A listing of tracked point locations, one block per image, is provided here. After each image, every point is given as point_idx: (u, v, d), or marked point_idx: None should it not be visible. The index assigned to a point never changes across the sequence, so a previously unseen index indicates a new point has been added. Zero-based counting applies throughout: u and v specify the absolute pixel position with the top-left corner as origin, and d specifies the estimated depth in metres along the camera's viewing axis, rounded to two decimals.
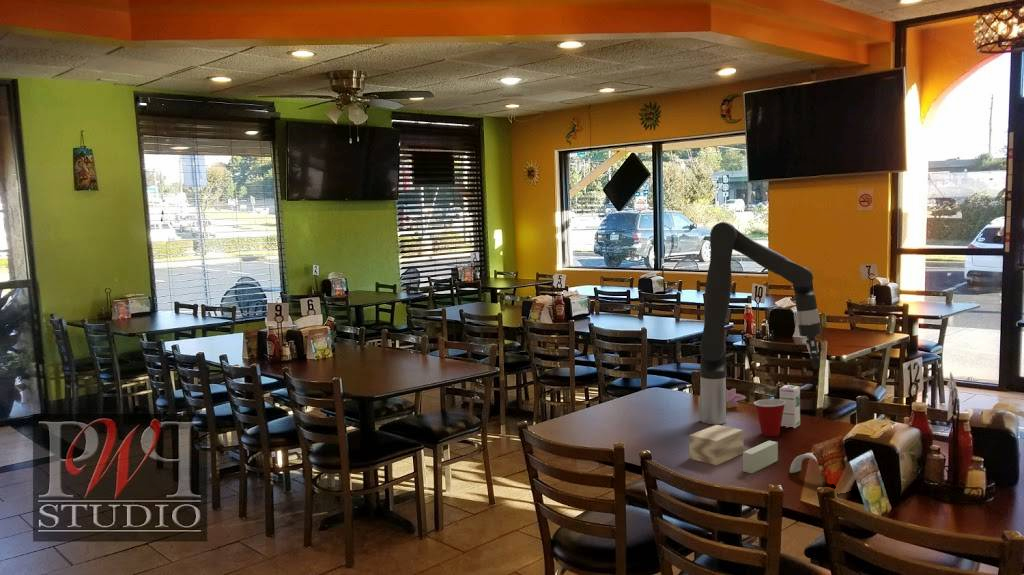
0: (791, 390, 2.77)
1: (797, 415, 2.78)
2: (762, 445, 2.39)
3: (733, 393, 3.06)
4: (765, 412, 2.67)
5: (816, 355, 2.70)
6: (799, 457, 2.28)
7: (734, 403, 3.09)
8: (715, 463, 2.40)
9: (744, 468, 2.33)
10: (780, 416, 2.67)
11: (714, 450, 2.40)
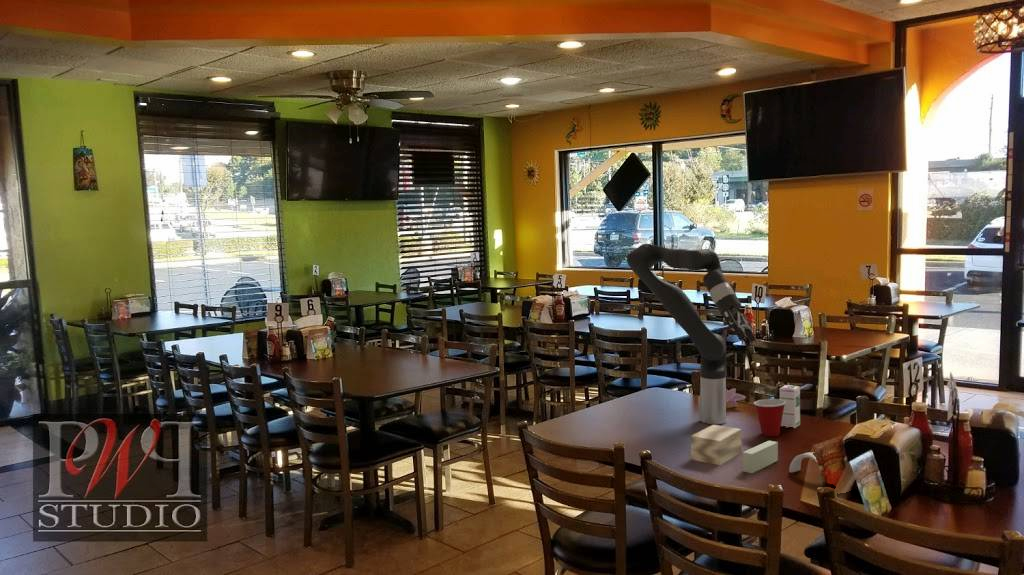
0: (791, 390, 2.77)
1: (797, 415, 2.78)
2: (762, 445, 2.39)
3: (733, 393, 3.06)
4: (765, 412, 2.67)
5: (733, 324, 2.48)
6: (798, 457, 2.29)
7: (734, 403, 3.09)
8: (718, 463, 2.40)
9: (744, 468, 2.33)
10: (780, 416, 2.67)
11: (717, 451, 2.40)
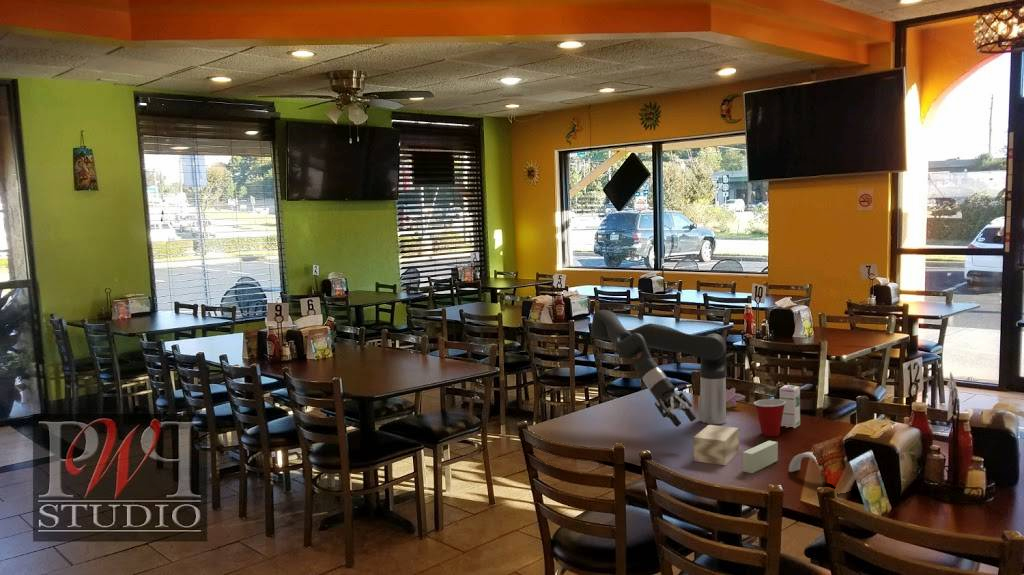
0: (791, 390, 2.77)
1: (797, 415, 2.78)
2: (762, 445, 2.39)
3: (732, 393, 3.06)
4: (765, 412, 2.67)
5: (665, 413, 2.53)
6: (798, 456, 2.29)
7: (733, 403, 3.10)
8: (723, 463, 2.40)
9: (744, 468, 2.33)
10: (780, 416, 2.67)
11: (722, 451, 2.40)
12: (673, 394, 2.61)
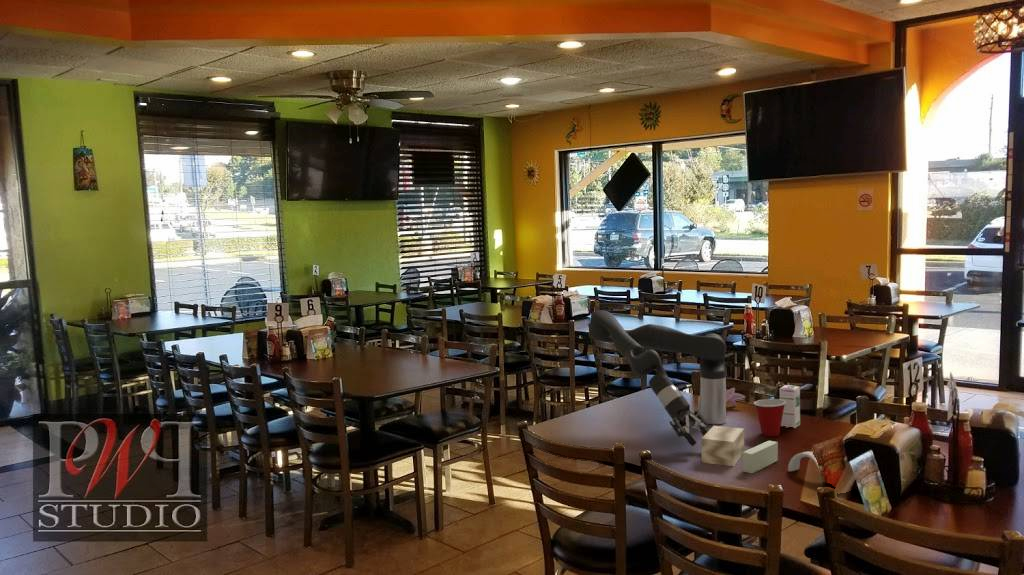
0: (791, 390, 2.77)
1: (797, 415, 2.78)
2: (762, 445, 2.39)
3: (732, 392, 3.07)
4: (765, 412, 2.67)
5: (681, 432, 2.49)
6: (797, 456, 2.30)
7: (733, 402, 3.10)
8: (732, 464, 2.39)
9: (744, 468, 2.33)
10: (780, 416, 2.67)
11: (730, 452, 2.38)
12: (688, 412, 2.57)
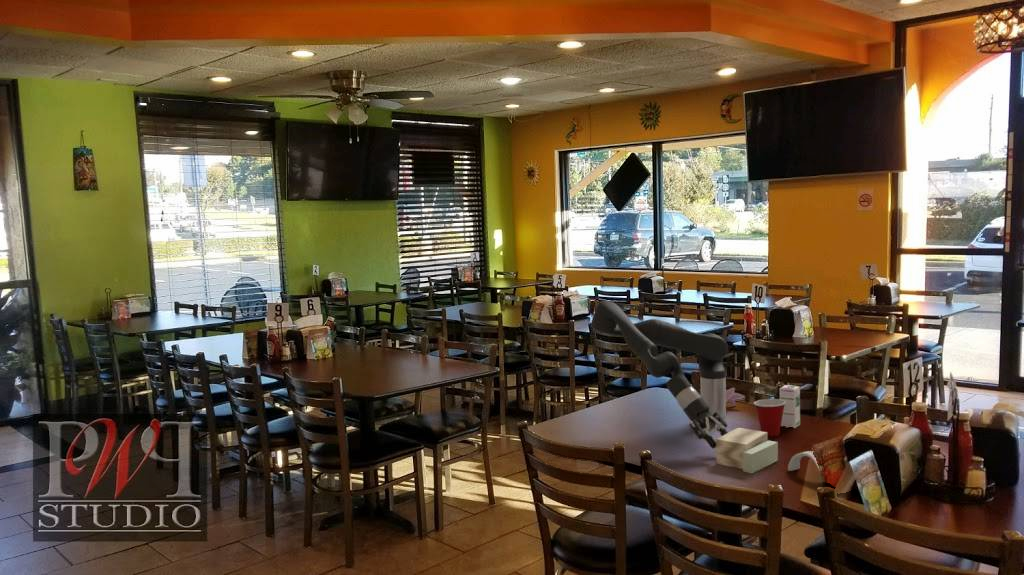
0: (791, 390, 2.77)
1: (797, 415, 2.78)
2: (762, 445, 2.39)
3: (732, 392, 3.07)
4: (765, 412, 2.67)
5: (701, 434, 2.44)
6: (797, 455, 2.30)
7: (732, 402, 3.11)
8: None
9: (744, 468, 2.33)
10: (780, 416, 2.67)
11: None
12: (708, 414, 2.52)
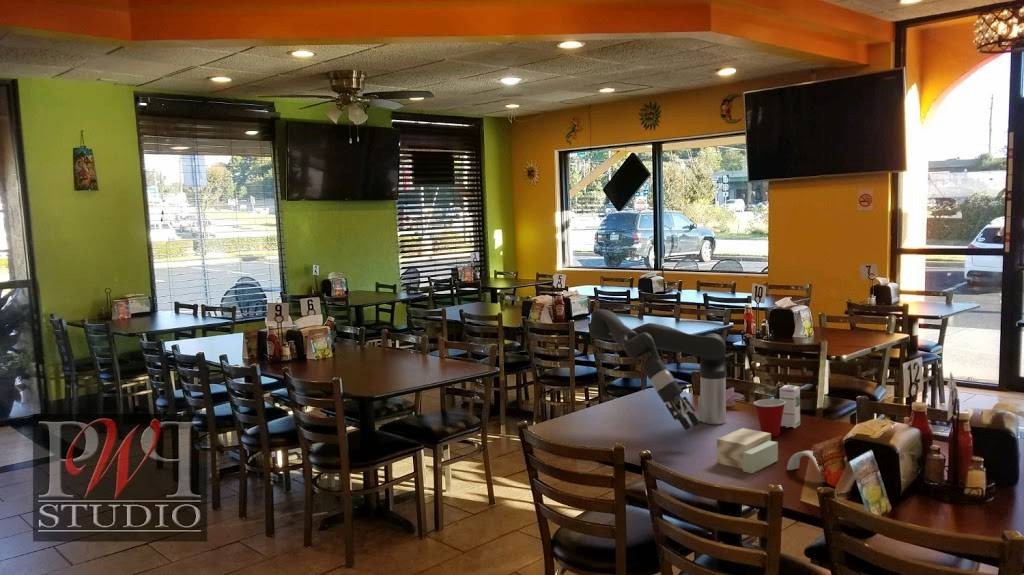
0: (791, 390, 2.77)
1: (797, 415, 2.78)
2: (762, 445, 2.39)
3: (731, 392, 3.07)
4: (765, 412, 2.67)
5: (677, 415, 2.51)
6: (796, 454, 2.31)
7: (732, 402, 3.11)
8: None
9: (744, 468, 2.33)
10: (780, 416, 2.67)
11: None
12: (680, 397, 2.60)
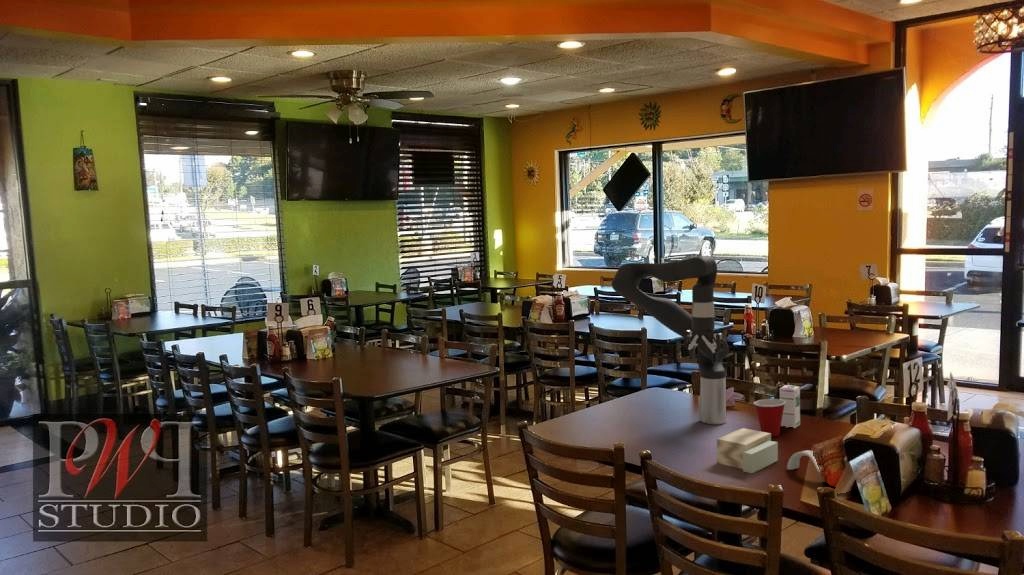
0: (791, 390, 2.77)
1: (797, 415, 2.78)
2: (762, 445, 2.39)
3: (731, 392, 3.08)
4: (765, 412, 2.67)
5: (722, 349, 2.56)
6: (796, 454, 2.31)
7: (731, 402, 3.11)
8: None
9: (744, 468, 2.33)
10: (780, 416, 2.67)
11: None
12: None
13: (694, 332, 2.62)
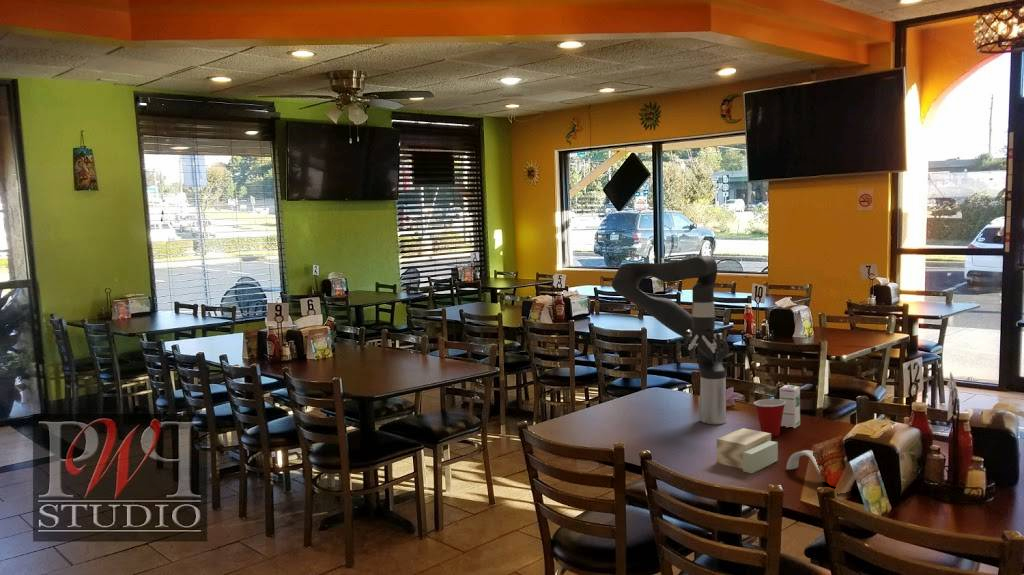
0: (791, 390, 2.77)
1: (797, 415, 2.78)
2: (762, 445, 2.39)
3: (731, 392, 3.08)
4: (765, 412, 2.67)
5: (722, 349, 2.56)
6: (795, 454, 2.31)
7: (731, 402, 3.12)
8: None
9: (744, 468, 2.33)
10: (780, 416, 2.67)
11: None
12: None
13: (694, 332, 2.62)
